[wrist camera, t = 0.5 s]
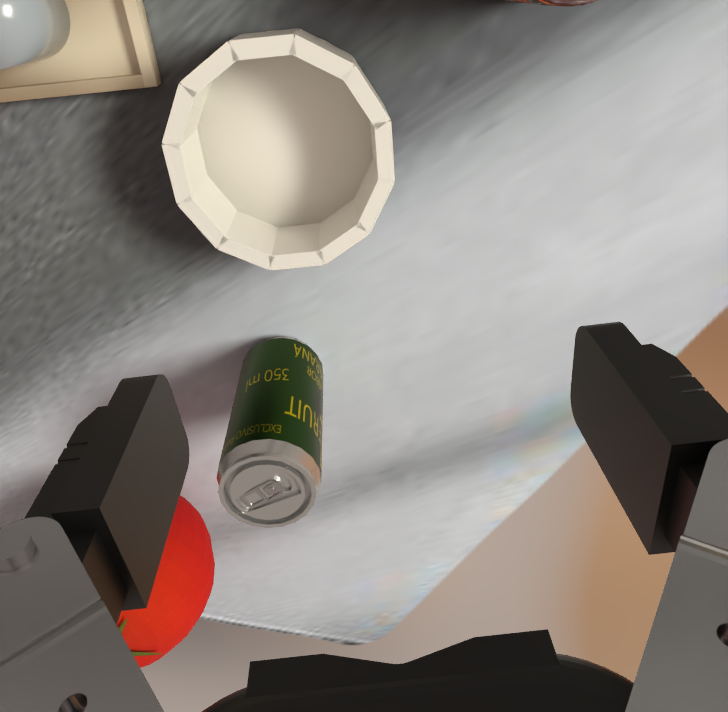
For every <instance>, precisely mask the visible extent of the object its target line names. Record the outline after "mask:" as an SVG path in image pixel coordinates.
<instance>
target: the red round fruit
mask: <svg viewBox="0 0 728 712" xmlns="http://www.w3.org/2000/svg"><path fill="white" fill-rule="evenodd" d="M214 566H215V563H214V557H213V552H212V546H211V539H210V535H209V532H208V530H207V528H206V525H205V523H204V521H203V519H202V517H201V515H200V514H199V512H198V511H197V510H196V509H195V508H194V507H193V506H192V505H191V504H190V503H189V502H188V501H187V500H186V499H185V498H183V497H182V496H179V500H178V503H177V506H176V510H175V513H174V517H173V520H172V523H171V527H170V530H169V534H168V537H167V540H166V544H165V547H164V551H163V554H162V558H161V561H160V564H159V568H158V571H157V575H156V578H155V581H154V585H153V588H152V592H151V595H150V598H149V602H148V605H147V608H143V609H134V610H125V611H121V614H120V617H119V620H118V623H117V627H118V629H119V631H120V632H121V634H122V636H123V638H124V640H125V642H126V643H127V645H128V647H129V649H130V651H131V652H132V654H133V656H134V658H135V660H136V662H137V663H138V665H139V667H140V668H141V667H144V666H147V665H150V664H151V663H153V662H155V661H157V660H158V659H160V658H161V657H162V656H164V655H165V654H166V653H167V652H169V651H170V650H171V649H172V648H174V647H175V646H176V645H177V644H178V643H180V642H181V641H182V640H183V639H184V637H186V636H187V635H188V633H189V632H190V630H191V629H192V628H193V626H194V625H195V623H196V622H197V621H198V619H199V618H200V616H201V614H202V613H203V611H204V608H205V606H206V603H207V601H208V598H209V596H210V593H211V590H212V586H213V580H214Z"/></svg>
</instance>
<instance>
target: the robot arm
mask: <svg viewBox="0 0 728 712" xmlns="http://www.w3.org/2000/svg"><path fill="white" fill-rule="evenodd" d="M571 407H572V412H573V416H574V419H575V422H576V424H577V426H578V428H579V429H580V431H581V433H582V435H583V437H584V438H585V440H586V442H587V444H588V446H589V447H590V449H591V451H592V453H593V454H594V456H595V458H596V460H597V462H598V463H599V465H600V467H601V469H602V471H603V473H604V474H605V476H606V478H607V480H608V482H609V483H610V485H611V487H612V489H613V491H614V492H615V494H616V496H617V498H618V500H619V501H620V503H621V505H622V507H623V509H624V510H625V512H626V514H627V516H628V517H629V519H630V521H631V523H632V525H633V526H634V528H635V530H636V532H637V534H638V535H639V537H640V539H641V541H642V543H643V545H644V546H645V548H646V550H647V551H648V554H649V555H650V554H660V553H669V552H675V555H674V559H673V562H672V565H671V568H670V571H669V575H668V578H667V581H666V584H665V587H664V590H663V594H662V597H661V600H660V603H659V606H658V610H657V612H656V616H655V619H654V622H653V625H652V628H651V631H650V634H649V638H648V641H647V644H646V647H645V650H644V654H643V657H642V660H641V663H640V666H639V669H638V672H637V676H636V679H635V682H634V683H633V682H631V681H630V680H628V679H626V678H625V677H623V676H621V675H619V674H617V673H615V672H613V671H611V670H609V669H607V668H605V667H602V666H600V665H597V664H595V663H592V662H589V661H587V660H583V659H579V658H575V657H571V656H568V655H562V654H556V652H555V649H554V647H553V644H552V640H551V638H550V635H549V632H548V630H538V631H529V632H520V633H511V634H501V635H492V636H483V637H474V638H472V639H469V640H466V641H463V642H461V643H458V644H455V645H453V646H450V647H448V648H445V649H442V650H439V651H437V652H434V653H432V654H429V655H426V656H423V657H421V658H418V659H416V660H413V661H410V662H407V663H404V664H389V663H382V662H375V661H368V660H361V659H354V658H347V657H341V656H334V655H327V654H318V655H308V656H299V657H289V658H280V659H271V660H262V661H252V662H250V668H249V677H248V684H247V687H246V688H244V689H241V690H239V691H236V692H234V693H232V694H230V695H228V696H226V697H224V698H222V699H221V700H219V701H218V702H216V703H214V704H213V705H212V706H210V707H208V708H207V709H205V710H203V711H202V712H728V413H727V412H726V411H725V410H724V409H723V407H722V406H721V405H720V404H719V403H718V402H717V401H716V400H715V399H714V398H713V397H712V395H711V394H710V393H709V392H708V391H705V390H704V387H703V386H702V385H701V384H700V382H698V380H697V379H696V378H695V377H692V375H691V373H690V372H689V370H687V369H686V367H685V366H684V365H683V364H682V363H681V362H680V361H679V360H678V359H677V357H675V356H673V355H671V354H670V353H668V352H666V351H664V350H662V349H660V348H658V347H657V346H655V345H653V344H647V345H641V344H640V343H639V342H638V340H637V339H636V338H635V337H634V336H633V334H632V333H631V332H630V331H629V330H628V329H627V327H626V326H625V325H624V324H623V323H621V322H614V323H605V324H597V325H588V326H581V327H579V328H578V330H577V332H576V337H575V348H574V359H573V370H572V382H571ZM188 464H189V445H188V439H187V436H186V432H185V429H184V426H183V423H182V420H181V417H180V414H179V412H178V409H177V406H176V403H175V400H174V397H173V394H172V391H171V388H170V385H169V382H168V380H167V379H166V377H165V376H164V375H162V374H160V375H151V376H143V377H134V378H126V379H122V380H121V382H120V383H119V385H118V387H117V389H116V391H115V393H114V394H113V396H112V398H111V400H110V402H109V404H108V406H103V407H98V408H96V409H95V410H94V411H93V412H92V413H91V414H90V415H89V416H87V417H86V418H85V419H84V420H83V421H82V422H81V423H80V424H79V425H78V426H77V427H76V429H75V431H74V433H73V434H72V436H71V438H70V440H69V441H68V443H67V448H64V450H63V452H62V454H61V455H60V457H59V459H58V464H56V465H55V466H54V468H53V470H52V471H51V473H50V475H49V477H48V478H47V480H46V482H45V484H44V485H43V487H42V489H41V491H40V492H39V494H38V496H37V498H36V499H35V501H34V503H33V505H32V506H31V508H30V510H29V512H28V513H27V515H26V517H25V519H22V520H18V521H16V522H13V523H10V524H8V525H6V526H4V527H2V528H0V712H164V711H163V709H162V707H161V705H160V703H159V702H158V700H157V698H156V696H155V694H154V692H153V691H152V689H151V687H150V685H149V683H148V682H147V680H146V678H145V676H144V674H143V672H142V671H141V669H140V667H139V665H138V663H137V662H136V660H135V658H134V656H133V654H132V652H131V651H130V649H129V647H128V645H127V643H126V642H125V640H124V638H123V636H122V634H121V632H120V631H119V629H118V627H117V623H118V620H119V617H120V614H121V611H125V610H134V609H143V608H147V605H148V602H149V598H150V595H151V592H152V588H153V585H154V581H155V578H156V575H157V571H158V568H159V564H160V561H161V558H162V554H163V551H164V547H165V544H166V540H167V537H168V534H169V530H170V527H171V523H172V520H173V517H174V513H175V510H176V506H177V503H178V500H179V496H180V493H181V489H182V486H183V483H184V479H185V476H186V472H187V469H188Z"/></svg>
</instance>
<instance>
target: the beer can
mask: <svg viewBox="0 0 728 712" xmlns="http://www.w3.org/2000/svg"><path fill="white" fill-rule="evenodd" d="M322 414H323V369H322V363H321V362H320V360H319V358H318V356H317V354H316V353H315V352H314V351H313V350H312V349H311V348H310V347H309V346H308V345H306V344H305V343H304V342H302V341H300V340H298V339H296V338H291V337H285V336H281V337H272V338H269V339H267V340H264V341H262V342H260V343H258V344H257V345H256V346H255V347H253V348H252V349H251V350H250V351H249V352H248V354H247V355H246V357H245V359H244V360H243V365H242V369H241V373H240V378H239V382H238V386H237V390H236V395H235V399H234V403H233V407H232V412H231V416H230V420H229V424H228V429H227V433H226V437H225V442H224V446H223V450H222V454H221V459H220V463H219V468H218V474H217V480H218V484H219V491H218V493H219V496H220V500H221V503H222V505H223V506H224V507H225V509H226V510H227V511H228V513H229V514H231V515H232V516H234V517H235V518H236V519H238V520H239V521H242V522H244V523H247V524H249V525H252V526H258V527H265V528H271V527H282V526H285V525H288V524H291V523H294V522H296V521H298V520H299V519H301V518H302V517H304V516H305V515H306V514H307V513H308V512H309V511H310V509H311V508H312V507H313V505H314V501H315V498H316V495H317V493H318V491H319V487H320V484H321V465H322Z"/></svg>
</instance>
